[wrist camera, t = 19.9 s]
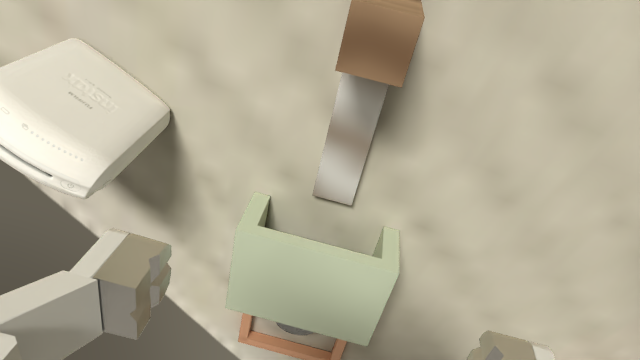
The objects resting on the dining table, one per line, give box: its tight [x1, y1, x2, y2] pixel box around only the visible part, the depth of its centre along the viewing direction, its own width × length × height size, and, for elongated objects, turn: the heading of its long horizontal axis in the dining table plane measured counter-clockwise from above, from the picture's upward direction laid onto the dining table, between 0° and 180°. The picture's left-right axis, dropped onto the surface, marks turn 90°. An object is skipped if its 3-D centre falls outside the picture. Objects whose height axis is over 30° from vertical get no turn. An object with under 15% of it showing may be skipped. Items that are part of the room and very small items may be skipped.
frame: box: [238, 313, 347, 360], centre depth 49 cm, size 12×10×1 cm
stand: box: [225, 192, 399, 347], centre depth 41 cm, size 14×10×6 cm
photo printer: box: [0, 38, 170, 199], centre depth 32 cm, size 10×4×12 cm, turn 50°
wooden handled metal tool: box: [313, 0, 425, 205], centre depth 31 cm, size 18×4×8 cm, turn 168°
